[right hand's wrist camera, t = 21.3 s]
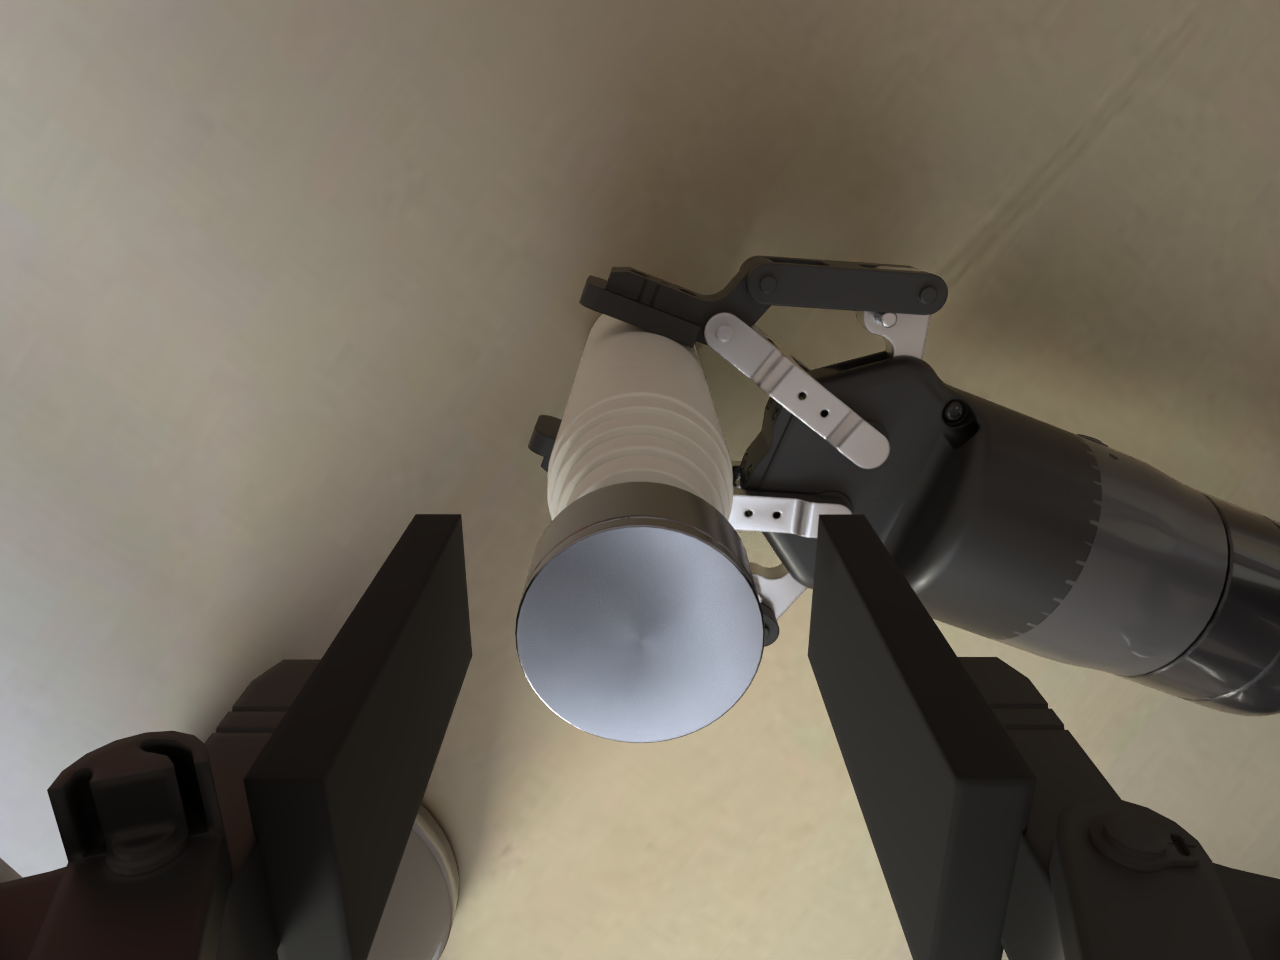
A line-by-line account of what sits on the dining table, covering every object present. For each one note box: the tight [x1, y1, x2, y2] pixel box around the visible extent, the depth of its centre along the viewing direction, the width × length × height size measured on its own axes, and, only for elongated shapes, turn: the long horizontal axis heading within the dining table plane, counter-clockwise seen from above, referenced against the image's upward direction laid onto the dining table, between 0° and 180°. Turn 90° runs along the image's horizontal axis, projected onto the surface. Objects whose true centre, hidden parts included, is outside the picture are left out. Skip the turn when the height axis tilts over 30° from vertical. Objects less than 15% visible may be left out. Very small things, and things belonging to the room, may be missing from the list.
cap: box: [515, 482, 765, 743], centre depth 14 cm, size 4×4×2 cm
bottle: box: [547, 314, 733, 520], centre depth 23 cm, size 4×4×21 cm
